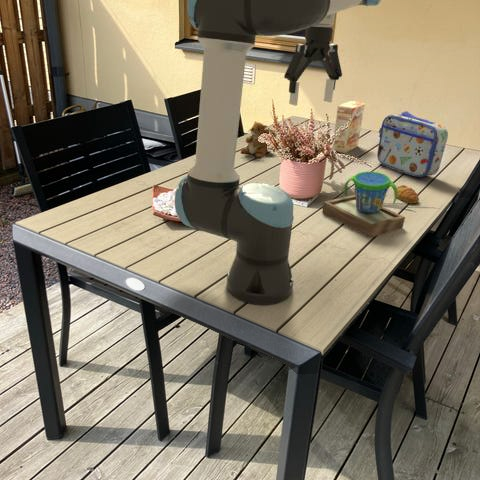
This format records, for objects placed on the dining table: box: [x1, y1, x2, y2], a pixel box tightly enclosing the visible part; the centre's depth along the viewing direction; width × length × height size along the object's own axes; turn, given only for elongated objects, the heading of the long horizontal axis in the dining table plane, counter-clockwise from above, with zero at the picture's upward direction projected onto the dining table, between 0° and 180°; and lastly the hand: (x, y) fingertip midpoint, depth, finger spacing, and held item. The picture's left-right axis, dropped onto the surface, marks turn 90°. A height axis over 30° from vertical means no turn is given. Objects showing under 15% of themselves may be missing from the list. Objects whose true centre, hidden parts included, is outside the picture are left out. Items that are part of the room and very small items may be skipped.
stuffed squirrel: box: [240, 121, 277, 158], centre depth 206 cm, size 10×14×13 cm
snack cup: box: [343, 171, 398, 214], centre depth 149 cm, size 16×10×10 cm
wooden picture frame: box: [322, 194, 406, 238], centre depth 151 cm, size 14×20×4 cm
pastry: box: [393, 184, 420, 204], centre depth 169 cm, size 9×7×4 cm
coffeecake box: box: [331, 100, 366, 154], centre depth 218 cm, size 15×7×20 cm, turn 147°
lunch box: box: [376, 111, 449, 178], centre depth 193 cm, size 28×10×22 cm, turn 34°
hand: (310, 103), depth 148 cm, fingers open, 13 cm apart
